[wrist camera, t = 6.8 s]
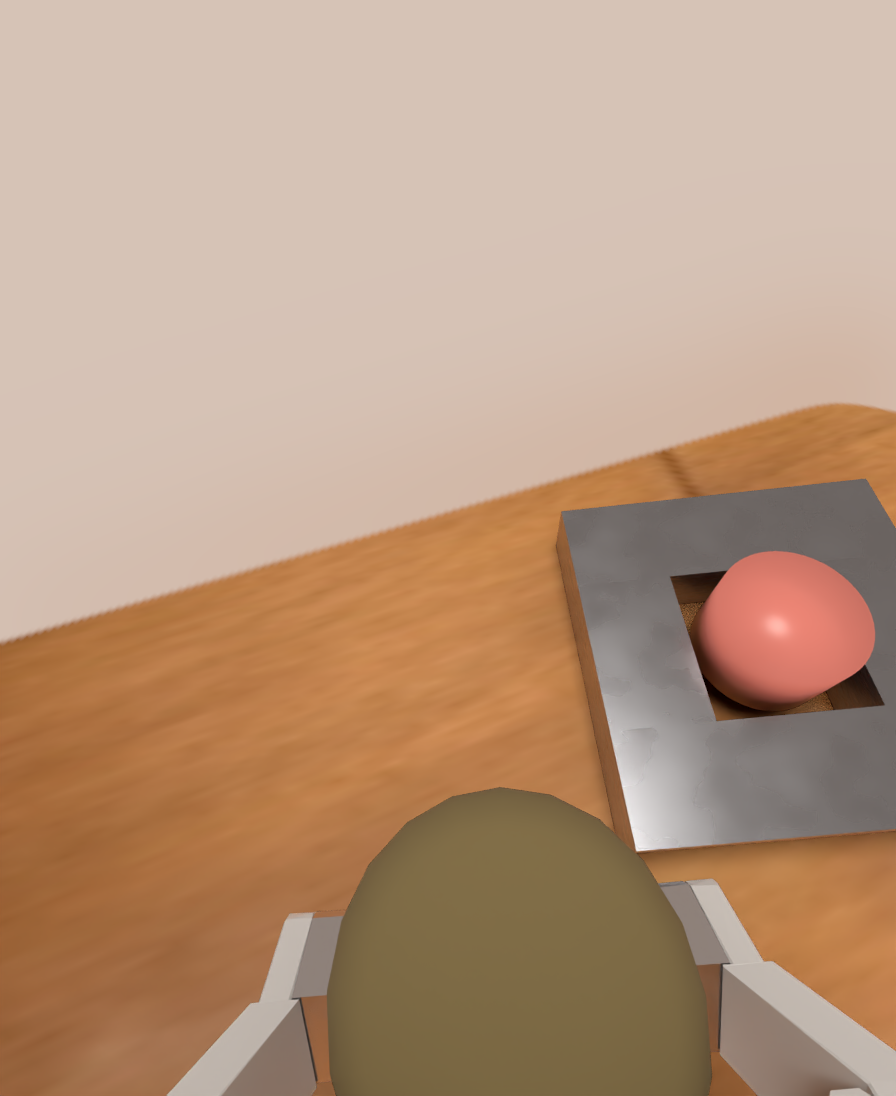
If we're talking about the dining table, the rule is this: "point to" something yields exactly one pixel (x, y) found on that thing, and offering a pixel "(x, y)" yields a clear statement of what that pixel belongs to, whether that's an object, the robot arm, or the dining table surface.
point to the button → (781, 631)
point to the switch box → (677, 685)
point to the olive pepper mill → (514, 962)
